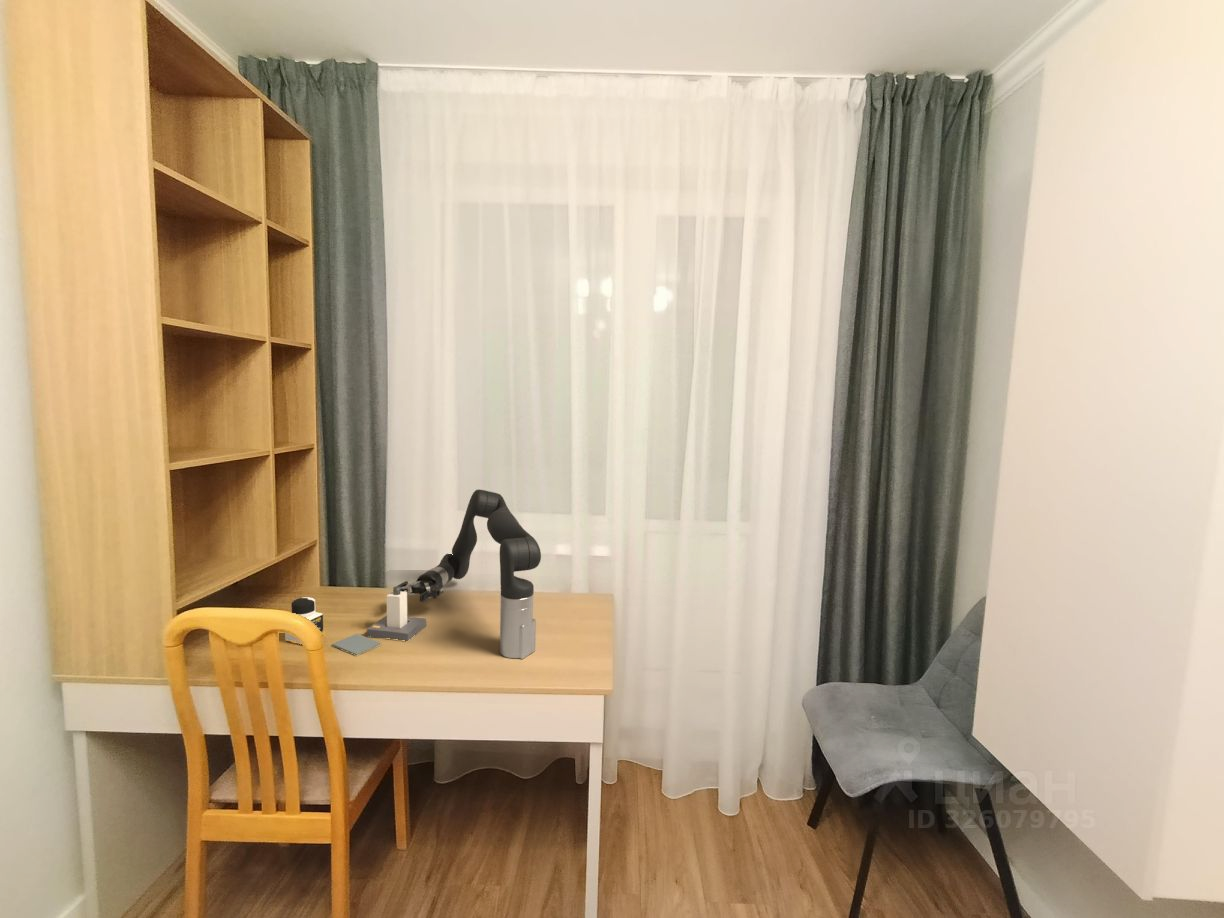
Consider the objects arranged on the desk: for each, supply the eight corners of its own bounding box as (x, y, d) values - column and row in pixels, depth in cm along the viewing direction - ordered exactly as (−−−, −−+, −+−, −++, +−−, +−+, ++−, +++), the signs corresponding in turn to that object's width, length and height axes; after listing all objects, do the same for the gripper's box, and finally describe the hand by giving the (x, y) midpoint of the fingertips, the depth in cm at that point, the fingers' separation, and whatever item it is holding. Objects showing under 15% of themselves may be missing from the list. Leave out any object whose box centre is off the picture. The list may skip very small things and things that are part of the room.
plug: (407, 629, 171) (406, 585, 169) (400, 635, 167) (399, 590, 165) (394, 627, 172) (394, 584, 170) (387, 633, 168) (386, 589, 166)
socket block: (426, 626, 174) (426, 617, 173) (407, 641, 163) (407, 632, 163) (387, 621, 176) (387, 613, 175) (367, 636, 165) (367, 628, 165)
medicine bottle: (303, 646, 158) (302, 605, 156) (284, 641, 160) (283, 601, 159) (324, 636, 165) (322, 597, 163) (305, 631, 167) (304, 593, 165)
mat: (381, 645, 160) (381, 643, 160) (356, 656, 153) (356, 654, 153) (356, 635, 166) (356, 633, 166) (331, 645, 159) (331, 643, 159)
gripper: (413, 568, 191) (387, 584, 175) (452, 571, 189) (429, 588, 173) (413, 589, 192) (387, 606, 176) (452, 593, 189) (429, 611, 174)
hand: (408, 597), depth 174 cm, fingers open, 8 cm apart
